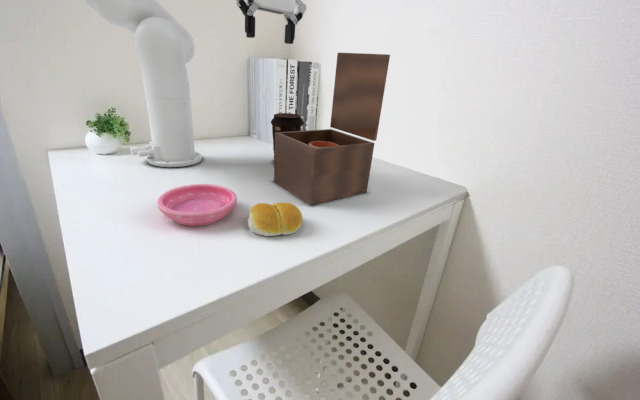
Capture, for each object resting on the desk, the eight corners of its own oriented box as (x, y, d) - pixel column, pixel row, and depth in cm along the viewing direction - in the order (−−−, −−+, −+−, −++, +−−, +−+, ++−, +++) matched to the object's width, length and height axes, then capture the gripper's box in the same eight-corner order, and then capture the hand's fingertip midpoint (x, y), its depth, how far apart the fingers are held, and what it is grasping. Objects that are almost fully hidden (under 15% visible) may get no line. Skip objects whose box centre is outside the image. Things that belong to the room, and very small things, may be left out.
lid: (387, 54, 58) (404, 57, 61) (337, 52, 68) (354, 54, 71) (373, 140, 64) (390, 139, 67) (330, 127, 74) (346, 126, 77)
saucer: (250, 217, 53) (250, 200, 52) (177, 239, 45) (175, 220, 44) (216, 194, 61) (215, 179, 60) (149, 209, 53) (146, 192, 52)
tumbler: (317, 191, 65) (321, 149, 61) (300, 181, 70) (302, 142, 66) (341, 186, 69) (345, 147, 65) (323, 177, 74) (326, 140, 70)
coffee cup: (304, 161, 87) (307, 114, 82) (299, 170, 80) (302, 119, 74) (273, 157, 88) (275, 111, 82) (266, 166, 80) (267, 115, 75)
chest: (310, 205, 60) (315, 149, 55) (273, 181, 70) (274, 132, 66) (366, 192, 69) (374, 142, 64) (326, 172, 79) (331, 128, 75)
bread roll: (308, 234, 50) (310, 212, 48) (253, 241, 47) (252, 217, 45) (293, 212, 57) (294, 192, 55) (244, 216, 53) (243, 195, 52)
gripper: (299, -37, 71) (294, 45, 78) (226, -61, 61) (227, 35, 68) (318, -43, 66) (310, 46, 72) (240, -71, 56) (240, 34, 63)
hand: (270, 40), depth 70 cm, fingers open, 9 cm apart
